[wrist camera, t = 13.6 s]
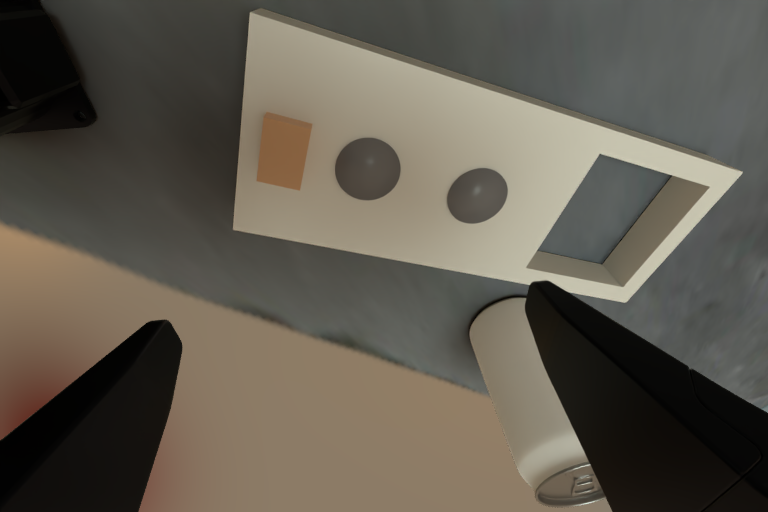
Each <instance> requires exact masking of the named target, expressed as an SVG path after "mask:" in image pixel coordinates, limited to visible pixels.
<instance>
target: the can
mask: <svg viewBox="0 0 768 512" xmlns="http://www.w3.org/2000/svg"><path fill="white" fill-rule="evenodd" d="M525 302H526V298H521V297H513V298H507V299H504V300H501V301H498V302H496V303H494V304H492V305H490V306H488V307H487V308H485V309H484V310H483V311H482V312H480V313H479V315H478V316H477V317H476V318H475V320H474V322H473V324H472V326H471V328H470V333H469V336H470V341H471V344H472V347H473V350H474V353H475V355H476V358H477V361H478V364H479V367H480V369H481V372H482V375H483V378H484V381H485V383H486V386H487V389H488V392H489V394H490V397H491V400H492V403H493V405H494V408H495V411H496V414H497V416H498V419H499V422H500V425H501V427H502V430H503V433H504V436H505V438H506V441H507V444H508V446H509V449H510V452H511V455H512V457H513V460H514V462H515V465H516V467H517V470H518V471H519V474H520V475H521V476H522V478H523V479H524V480H525V481H526V482H527V483H528V484H529V485H530V487H531V488H532V489H533V490H534V492H535V498H536V500H537V501H538V502H539V503H540V504H542V505H545V506H548V507H573V506H580V505H585V504H589V503H593V502H596V501H599V500H603V499H605V498H606V497H605V495H604V493H603V490H602V488H601V486H600V484H599V482H598V480H597V478H596V476H595V474H594V472H593V469H592V467H591V465H590V463H589V461H588V459H587V457H586V455H585V453H584V450H583V448H582V446H581V444H580V442H579V440H578V438H577V436H576V434H575V431H574V429H573V427H572V425H571V423H570V421H569V419H568V417H567V415H566V413H565V410H564V408H563V406H562V404H561V402H560V400H559V398H558V396H557V394H556V391H555V389H554V387H553V385H552V383H551V381H550V379H549V377H548V375H547V372H546V370H545V368H544V365H543V363H542V360H541V357H540V354H539V351H538V348H537V346H536V343H535V340H534V337H533V334H532V331H531V328H530V325H529V322H528V319H527V316H526V313H525Z"/></svg>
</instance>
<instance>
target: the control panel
mask: <svg viewBox="0 0 768 512" xmlns="http://www.w3.org/2000/svg"><path fill="white" fill-rule="evenodd" d="M599 154H603V155H607V156H610V157H613V158H616V159H620V160H623V161H626V162H630V163H633V164H636V165H640V166H643V167H646V168H650V169H653V170H656V171H659V172H663V173H666V174H669V175H672V177H671V178H670V179H669V180H668V182H667V183H666V184H665V186H664V187H663V188H662V189H661V191H660V192H659V193H658V194H657V196H656V197H655V198H654V199H653V201H652V202H651V203H650V205H649V206H648V207H647V208H646V210H645V211H644V212H643V213H642V215H641V216H640V217H639V218H638V220H637V221H636V222H635V224H634V225H633V226H632V227H631V229H630V230H629V231H628V232H627V234H626V235H625V236H624V237H623V239H622V240H621V241H620V243H619V244H618V245H617V246H616V248H615V249H614V250H613V251H612V253H611V254H610V255H609V256H608V258H607V259H606V260H605V262H604V263H603V264H598V263H593V262H588V261H584V260H579V259H574V258H569V257H565V256H560V255H555V254H551V253H546V252H541V251H537V250H538V248H539V247H540V245H541V244H542V242H543V240H544V239H545V237H546V236H547V234H548V233H549V231H550V230H551V228H552V227H553V225H554V223H555V222H556V220H557V219H558V217H559V216H560V214H561V213H562V211H563V210H564V208H565V206H566V205H567V203H568V202H569V200H570V199H571V197H572V196H573V194H574V193H575V191H576V190H577V188H578V186H579V185H580V183H581V182H582V180H583V179H584V177H585V176H586V174H587V173H588V171H589V169H590V168H591V166H592V165H593V163H594V162H595V160H596V159H597V157H598V156H599ZM742 173H743V172H741V171H739V170H737V169H735V168H733V167H731V166H729V165H727V164H725V163H723V162H721V161H719V160H716V159H714V158H712V157H710V156H708V155H705V154H702V153H699V152H696V151H693V150H690V149H687V148H684V147H681V146H678V145H675V144H672V143H669V142H666V141H663V140H660V139H657V138H654V137H651V136H648V135H645V134H642V133H639V132H636V131H633V130H630V129H627V128H624V127H621V126H617V125H614V124H611V123H608V122H605V121H602V120H599V119H596V118H593V117H590V116H587V115H584V114H581V113H578V112H575V111H572V110H569V109H566V108H563V107H560V106H557V105H554V104H551V103H548V102H545V101H542V100H539V99H536V98H533V97H530V96H526V95H523V94H520V93H517V92H514V91H511V90H508V89H505V88H502V87H499V86H496V85H493V84H490V83H487V82H484V81H481V80H478V79H475V78H472V77H469V76H466V75H463V74H460V73H457V72H454V71H451V70H448V69H445V68H442V67H439V66H436V65H432V64H429V63H426V62H423V61H420V60H417V59H414V58H411V57H408V56H405V55H402V54H399V53H396V52H393V51H390V50H387V49H384V48H381V47H378V46H375V45H372V44H369V43H366V42H363V41H360V40H357V39H354V38H351V37H348V36H345V35H342V34H338V33H335V32H332V31H329V30H326V29H323V28H320V27H317V26H314V25H311V24H308V23H305V22H302V21H299V20H296V19H293V18H290V17H287V16H284V15H281V14H278V13H275V12H272V11H269V10H266V9H263V8H260V9H257V10H254V11H252V12H250V17H249V30H248V43H247V55H246V68H245V81H244V94H243V106H242V119H241V132H240V144H239V157H238V170H237V183H236V195H235V208H234V221H233V230H236V231H242V232H247V233H253V234H258V235H263V236H269V237H274V238H280V239H285V240H290V241H296V242H301V243H307V244H312V245H317V246H323V247H328V248H333V249H339V250H344V251H350V252H355V253H360V254H366V255H371V256H377V257H382V258H387V259H393V260H398V261H404V262H409V263H414V264H420V265H425V266H430V267H436V268H441V269H447V270H452V271H457V272H463V273H468V274H474V275H479V276H484V277H490V278H495V279H501V280H506V281H511V282H517V283H522V284H527V285H530V284H531V283H532V282H533V281H542V280H548V281H550V282H552V283H554V284H555V285H557V286H559V287H560V288H562V289H563V290H565V291H567V292H571V293H576V294H581V295H587V296H592V297H598V298H603V299H608V300H614V301H619V302H624V303H626V302H627V301H628V300H629V299H630V298H631V296H632V295H633V294H634V293H635V292H636V291H637V290H638V289H639V288H640V286H641V285H642V284H643V283H644V282H645V281H646V280H647V279H648V278H649V276H650V275H651V274H652V273H653V272H654V271H655V270H656V269H657V268H658V266H659V265H660V264H661V263H662V262H663V261H664V260H665V259H666V258H667V256H668V255H669V254H670V253H671V252H672V251H673V250H674V249H675V248H676V246H677V245H678V244H679V243H680V242H681V241H682V240H683V239H684V238H685V236H686V235H687V234H688V233H689V232H690V231H691V230H692V229H693V228H694V226H695V225H696V224H697V223H698V222H699V221H700V220H701V219H702V218H703V216H704V215H705V214H706V213H707V212H708V211H709V210H710V209H711V208H712V206H713V205H714V204H715V203H716V202H717V201H718V200H719V199H720V198H721V196H722V195H723V194H724V193H725V192H726V191H727V190H728V189H729V188H730V186H731V185H732V184H733V183H734V182H735V181H736V180H737V179H738V178H739V176H740V175H741V174H742Z"/></svg>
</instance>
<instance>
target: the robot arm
mask: <svg viewBox="0 0 768 512" xmlns="http://www.w3.org/2000/svg"><path fill="white" fill-rule="evenodd" d="M79 80H80V78H79V76H78V74H77V72H76V70H75V68H74V66H73V64H72V62H71V60H70V58H69V56H68V54H67V52H66V50H65V48H64V46H63V44H62V42H61V40H60V38H59V36H58V34H57V32H56V30H55V28H54V26H53V24H52V22H51V20H50V18H49V17H48V16H47V15H46V14H45V13H44V11H43V9H42V8H41V6H40V4H39V2H38V0H0V136H1V135H4V134H9V133H21V132H33V131H45V130H57V129H69V128H80V127H87V126H90V125H91V124H93V123H94V122H95V121H96V115H95V112H94V110H93V108H92V106H91V104H90V102H89V100H88V98H87V96H86V94H85V92H84V90H83V88H82V86H81V84H80V83H79ZM78 111H80V112H82V113H83V114H84V115H85V117H86V119H83V118H82V117H80V116H79V114H78ZM525 313H526V316H527V319H528V322H529V325H530V328H531V331H532V334H533V337H534V340H535V343H536V346H537V348H538V351H539V354H540V357H541V360H542V363H543V365H544V368H545V370H546V372H547V375H548V377H549V379H550V381H551V383H552V385H553V387H554V389H555V391H556V394H557V396H558V398H559V400H560V402H561V404H562V406H563V408H564V410H565V413H566V415H567V417H568V419H569V421H570V423H571V425H572V427H573V429H574V431H575V434H576V436H577V438H578V440H579V442H580V444H581V446H582V448H583V450H584V453H585V455H586V457H587V459H588V461H589V463H590V465H591V467H592V469H593V472H594V474H595V476H596V478H597V480H598V482H599V484H600V486H601V488H602V490H603V493H604V495H605V497H606V499H607V501H608V503H609V505H610V507H611V509H612V512H768V413H767V412H765V411H763V410H762V409H760V408H758V407H756V406H754V405H753V404H751V403H749V402H747V401H745V400H744V399H742V398H740V397H738V396H737V395H735V394H733V393H732V392H730V391H728V390H727V389H725V388H723V387H722V386H720V385H718V384H716V383H715V382H713V381H711V380H710V379H708V378H707V377H705V376H703V375H702V374H700V373H698V372H697V371H695V370H694V369H689V367H688V366H687V365H685V364H684V363H682V362H680V361H679V360H677V359H675V358H674V357H672V356H671V355H669V354H667V353H666V352H664V351H662V350H661V349H659V348H658V347H656V346H654V345H653V344H651V343H650V342H648V341H646V340H645V339H643V338H641V337H640V336H638V335H637V334H635V333H633V332H632V331H630V330H628V329H627V328H625V327H624V326H622V325H620V324H619V323H617V322H615V321H614V320H612V319H611V318H609V317H607V316H606V315H604V314H602V313H601V312H599V311H598V310H596V309H594V308H593V307H591V306H589V305H588V304H586V303H585V302H583V301H581V300H580V299H578V298H576V297H575V296H573V295H572V294H570V293H568V292H567V291H565V290H563V289H562V288H560V287H559V286H557V285H555V284H554V283H552V282H550V281H548V280H542V281H533V282H532V283H531V284H530V286H529V290H528V294H527V298H526V302H525ZM181 354H182V342H181V340H180V338H179V336H178V335H177V333H176V331H175V330H174V328H173V326H172V324H171V323H170V322H169V321H168V320H156V321H150V322H148V323H146V324H145V325H144V326H142V327H141V328H140V329H139V330H137V331H136V332H135V333H134V334H132V335H131V336H130V337H129V338H127V339H126V340H125V341H124V342H122V343H121V344H120V345H119V346H118V347H116V348H115V349H114V350H113V351H111V352H110V353H109V354H108V355H106V356H105V357H104V358H103V359H101V360H100V361H99V362H98V363H96V364H95V365H94V366H93V367H91V368H90V369H89V370H88V371H86V372H85V373H84V374H83V375H82V376H80V377H79V378H78V379H77V380H75V381H74V382H73V383H72V384H70V385H69V386H68V387H66V388H65V389H64V390H63V391H61V392H60V393H59V394H58V395H57V396H55V397H54V398H53V399H51V400H50V401H49V402H48V403H47V404H45V405H44V406H43V407H42V408H40V409H39V410H38V411H37V412H35V413H34V414H33V415H32V416H30V417H29V418H28V419H27V420H25V421H24V422H23V423H22V424H20V425H19V426H18V427H17V428H15V429H14V430H13V431H12V432H10V433H9V434H8V435H7V436H5V437H4V438H3V439H2V440H0V512H138V511H139V508H140V505H141V501H142V499H143V495H144V492H145V489H146V486H147V482H148V480H149V476H150V473H151V470H152V467H153V464H154V460H155V457H156V454H157V451H158V448H159V444H160V441H161V438H162V435H163V432H164V429H165V426H166V422H167V419H168V416H169V412H170V409H171V404H172V400H173V395H174V390H175V385H176V380H177V375H178V370H179V365H180V360H181Z"/></svg>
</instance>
